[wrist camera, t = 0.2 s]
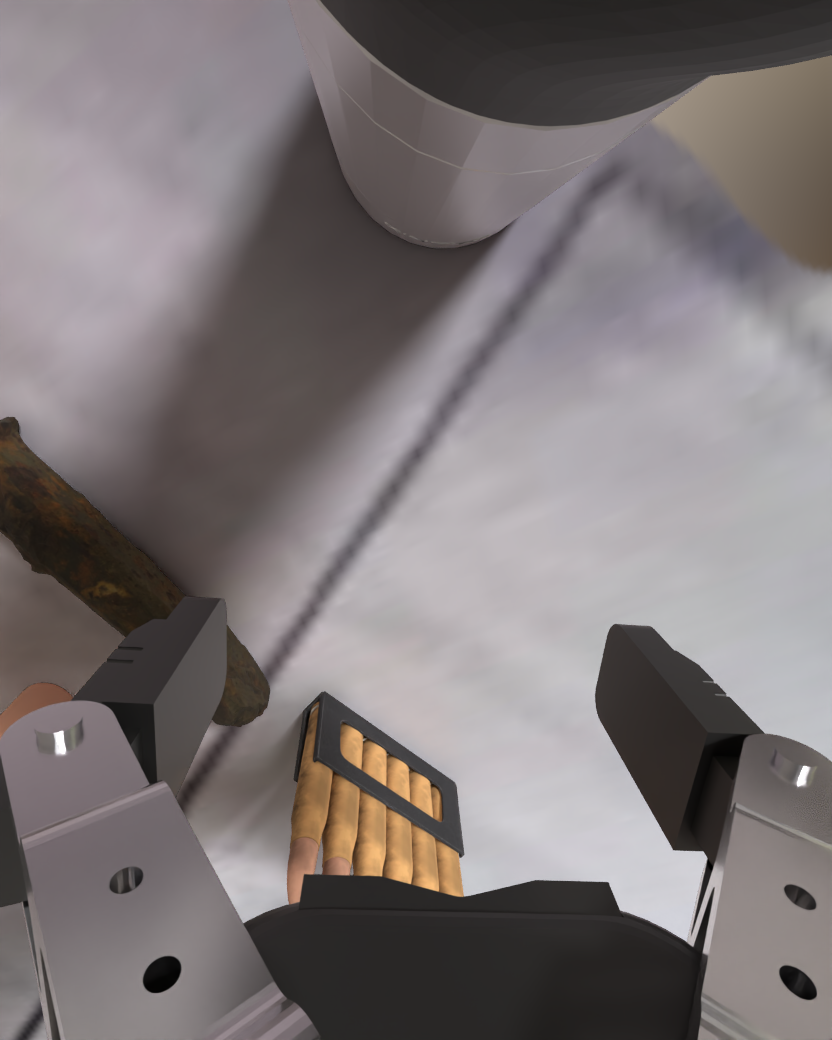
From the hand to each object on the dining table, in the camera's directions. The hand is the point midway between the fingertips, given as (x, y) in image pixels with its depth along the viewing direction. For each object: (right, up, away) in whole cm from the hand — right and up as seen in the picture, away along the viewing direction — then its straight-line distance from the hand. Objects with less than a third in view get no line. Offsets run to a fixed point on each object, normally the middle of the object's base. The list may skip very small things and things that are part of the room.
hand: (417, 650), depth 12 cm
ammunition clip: (-2, -11, +23) cm, 25 cm away
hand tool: (-14, 0, +18) cm, 23 cm away
